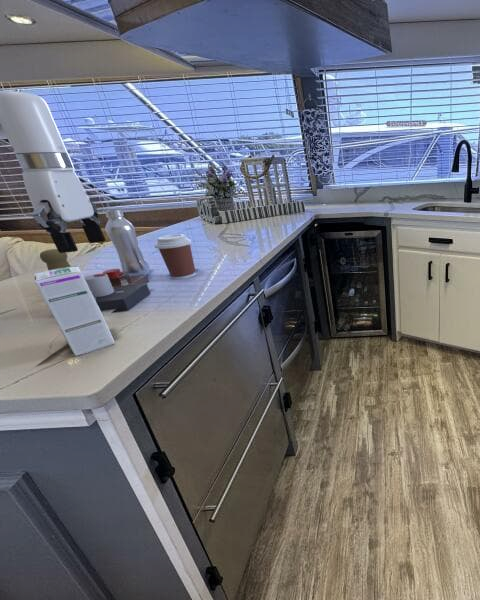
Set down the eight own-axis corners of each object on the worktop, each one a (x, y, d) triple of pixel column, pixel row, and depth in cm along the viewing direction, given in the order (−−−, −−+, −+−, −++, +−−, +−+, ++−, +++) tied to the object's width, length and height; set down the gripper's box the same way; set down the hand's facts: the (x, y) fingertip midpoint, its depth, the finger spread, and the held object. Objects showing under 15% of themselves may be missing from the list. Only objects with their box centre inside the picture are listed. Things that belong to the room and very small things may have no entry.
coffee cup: (198, 269, 104) (187, 232, 99) (203, 275, 97) (192, 236, 92) (164, 275, 98) (151, 237, 94) (168, 283, 92) (153, 241, 87)
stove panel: (57, 319, 72) (50, 306, 70) (88, 300, 81) (83, 289, 80) (128, 310, 74) (123, 298, 73) (150, 293, 84) (146, 282, 83)
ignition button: (102, 279, 85) (99, 273, 85) (110, 275, 89) (107, 269, 88) (117, 278, 86) (115, 271, 85) (124, 274, 89) (122, 268, 89)
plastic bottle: (148, 278, 97) (123, 210, 89) (121, 281, 95) (93, 212, 87) (154, 272, 102) (131, 207, 95) (129, 275, 100) (103, 209, 92)
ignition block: (85, 297, 84) (78, 283, 82) (105, 286, 92) (100, 272, 90) (132, 292, 86) (127, 278, 84) (148, 281, 94) (144, 268, 92)
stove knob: (85, 298, 74) (76, 279, 72) (97, 291, 78) (89, 273, 76) (107, 296, 75) (99, 276, 73) (118, 289, 79) (110, 271, 77)
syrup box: (116, 343, 60) (83, 269, 54) (73, 357, 56) (33, 279, 50) (110, 334, 64) (79, 264, 58) (70, 347, 60) (32, 272, 54)
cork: (48, 290, 90) (29, 252, 86) (74, 283, 95) (57, 246, 91) (63, 291, 88) (44, 253, 84) (88, 284, 94) (71, 247, 89)
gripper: (56, 165, 72) (89, 240, 79) (-16, 164, 57) (33, 258, 63) (95, 163, 74) (124, 237, 80) (34, 162, 58) (77, 254, 65)
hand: (84, 246), depth 72 cm, fingers open, 9 cm apart
